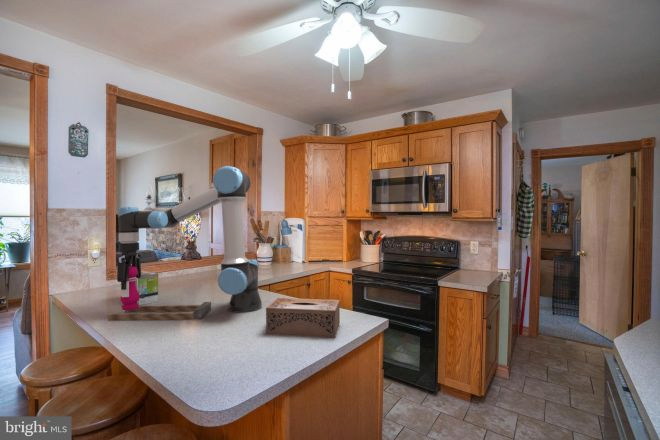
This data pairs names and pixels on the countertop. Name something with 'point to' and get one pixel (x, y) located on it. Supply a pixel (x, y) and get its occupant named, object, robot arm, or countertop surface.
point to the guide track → (197, 315)
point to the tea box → (148, 287)
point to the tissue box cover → (303, 317)
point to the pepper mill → (131, 291)
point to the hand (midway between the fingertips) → (130, 294)
